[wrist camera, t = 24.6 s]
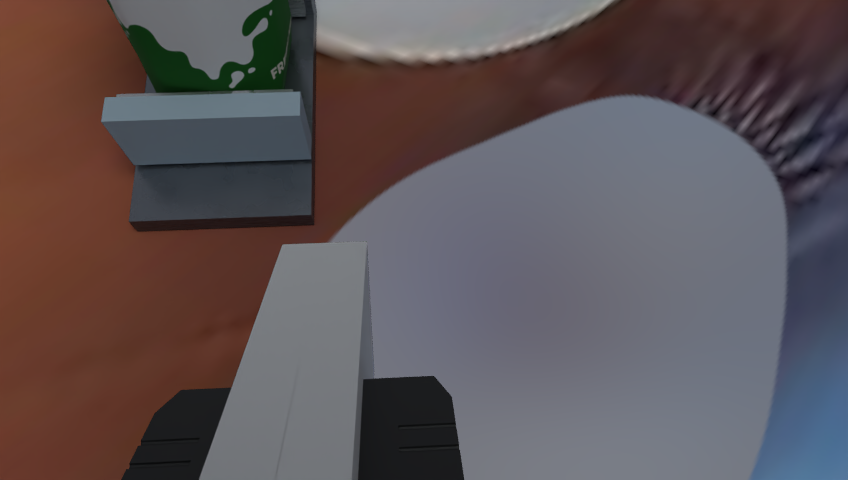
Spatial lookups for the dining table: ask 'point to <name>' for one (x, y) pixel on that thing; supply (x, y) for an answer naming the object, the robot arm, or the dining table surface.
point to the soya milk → (209, 42)
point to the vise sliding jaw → (209, 126)
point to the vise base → (238, 167)
